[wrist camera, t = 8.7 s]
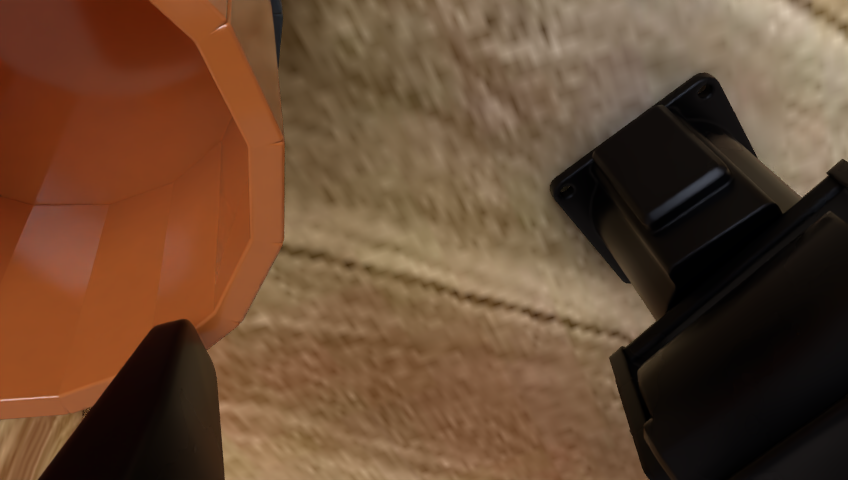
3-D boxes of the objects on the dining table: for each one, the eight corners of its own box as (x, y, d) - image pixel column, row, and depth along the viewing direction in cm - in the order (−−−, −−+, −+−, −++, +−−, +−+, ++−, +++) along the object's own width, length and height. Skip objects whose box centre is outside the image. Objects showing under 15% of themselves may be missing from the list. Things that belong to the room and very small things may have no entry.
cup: (355, 38, 12) (408, 194, 8) (92, 266, 14) (34, 485, 10) (-42, -399, 8) (-310, -497, 4) (-345, 4, 10) (-735, 203, 6)
